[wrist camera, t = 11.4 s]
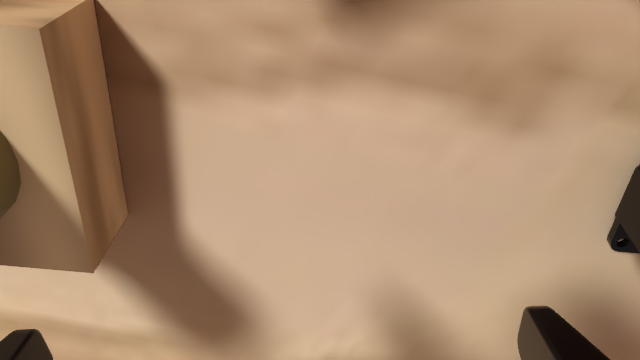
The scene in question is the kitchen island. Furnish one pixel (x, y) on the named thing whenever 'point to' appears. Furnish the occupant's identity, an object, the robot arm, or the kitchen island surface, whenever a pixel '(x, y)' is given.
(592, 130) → the kitchen island surface
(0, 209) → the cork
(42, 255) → the cream square block
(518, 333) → the robot arm
